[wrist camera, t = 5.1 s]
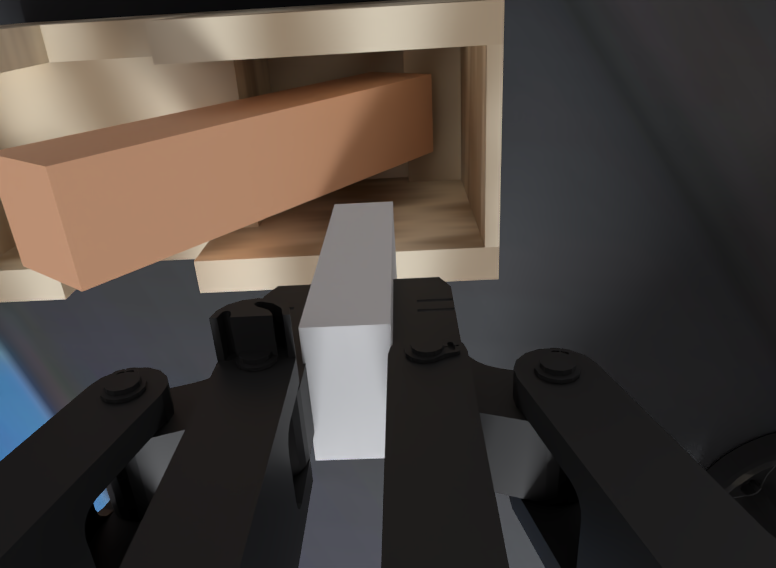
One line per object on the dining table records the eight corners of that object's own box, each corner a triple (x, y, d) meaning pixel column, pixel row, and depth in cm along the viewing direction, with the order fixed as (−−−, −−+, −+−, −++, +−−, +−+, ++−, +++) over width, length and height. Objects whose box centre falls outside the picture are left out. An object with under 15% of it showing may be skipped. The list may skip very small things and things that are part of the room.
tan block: (370, 71, 34) (431, 73, 32) (375, 144, 36) (433, 151, 34) (-15, 152, 20) (45, 166, 18) (23, 266, 22) (82, 291, 20)
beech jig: (468, -5, 33) (504, -1, 22) (468, 195, 38) (498, 279, 27) (24, 22, 34) (-149, 39, 23) (78, 215, 39) (-45, 304, 28)
